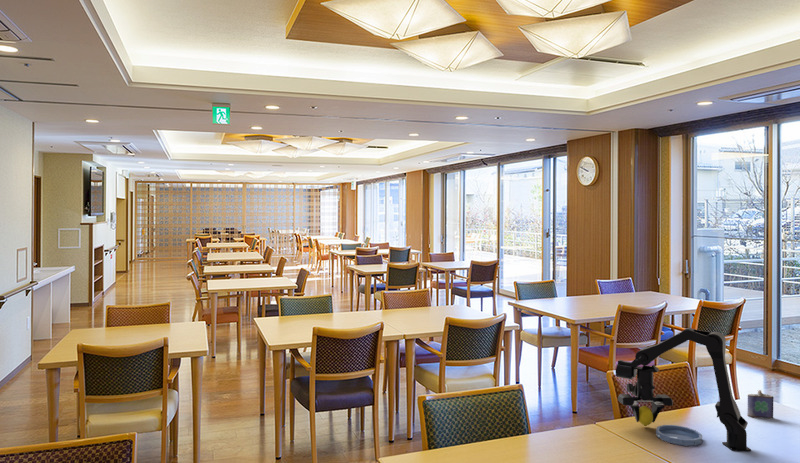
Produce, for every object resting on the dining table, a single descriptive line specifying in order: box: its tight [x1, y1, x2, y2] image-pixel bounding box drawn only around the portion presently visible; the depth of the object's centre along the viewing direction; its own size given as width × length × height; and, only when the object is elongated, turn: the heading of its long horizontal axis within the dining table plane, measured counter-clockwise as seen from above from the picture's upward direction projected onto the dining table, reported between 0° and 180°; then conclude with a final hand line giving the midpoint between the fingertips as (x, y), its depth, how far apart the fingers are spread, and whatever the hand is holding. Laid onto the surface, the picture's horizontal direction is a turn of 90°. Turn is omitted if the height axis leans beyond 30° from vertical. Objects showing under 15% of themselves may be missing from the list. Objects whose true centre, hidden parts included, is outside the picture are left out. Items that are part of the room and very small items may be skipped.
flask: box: [746, 389, 775, 419], centre depth 215 cm, size 9×3×11 cm, turn 76°
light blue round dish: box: [655, 424, 703, 447], centre depth 193 cm, size 15×15×2 cm
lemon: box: [638, 405, 653, 427], centre depth 203 cm, size 6×6×8 cm
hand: (645, 422), depth 203 cm, fingers closed on lemon, 5 cm apart
